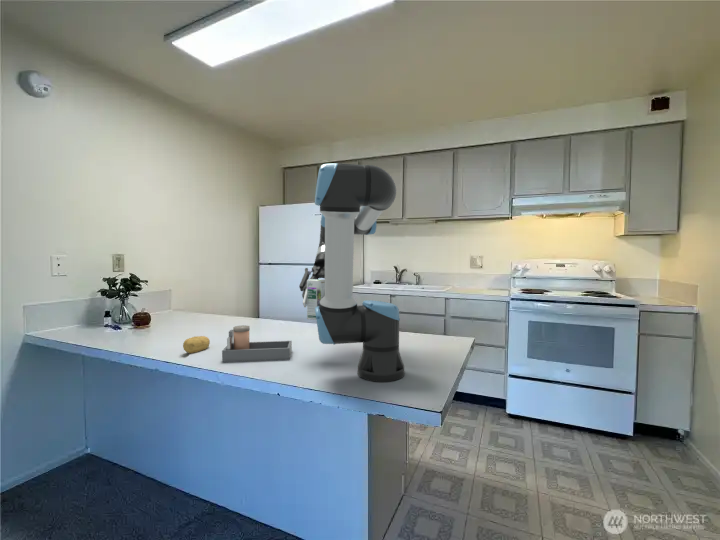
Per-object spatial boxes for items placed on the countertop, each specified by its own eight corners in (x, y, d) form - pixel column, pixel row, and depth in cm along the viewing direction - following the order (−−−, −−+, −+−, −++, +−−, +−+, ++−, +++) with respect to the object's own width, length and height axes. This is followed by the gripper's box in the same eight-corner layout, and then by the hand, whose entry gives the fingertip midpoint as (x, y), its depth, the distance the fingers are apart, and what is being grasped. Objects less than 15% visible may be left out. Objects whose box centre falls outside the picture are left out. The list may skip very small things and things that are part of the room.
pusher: (235, 352, 127) (235, 328, 127) (230, 359, 119) (229, 333, 119) (232, 353, 127) (232, 328, 127) (227, 359, 119) (226, 333, 119)
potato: (178, 355, 129) (177, 339, 129) (202, 347, 140) (202, 332, 139) (190, 357, 127) (190, 340, 126) (214, 349, 137) (214, 334, 136)
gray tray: (291, 353, 131) (291, 340, 131) (289, 362, 121) (289, 348, 121) (229, 355, 128) (229, 342, 128) (222, 365, 118) (222, 350, 118)
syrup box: (306, 319, 123) (305, 279, 122) (315, 316, 128) (315, 278, 128) (319, 320, 120) (319, 280, 120) (328, 318, 125) (328, 279, 125)
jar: (248, 358, 121) (247, 328, 121) (232, 359, 121) (231, 329, 120) (251, 354, 127) (250, 325, 126) (235, 354, 126) (235, 325, 126)
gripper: (350, 265, 137) (343, 311, 122) (302, 265, 140) (290, 311, 124) (348, 252, 132) (341, 299, 116) (298, 252, 134) (285, 298, 119)
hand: (314, 305), depth 120 cm, fingers closed on syrup box, 7 cm apart
